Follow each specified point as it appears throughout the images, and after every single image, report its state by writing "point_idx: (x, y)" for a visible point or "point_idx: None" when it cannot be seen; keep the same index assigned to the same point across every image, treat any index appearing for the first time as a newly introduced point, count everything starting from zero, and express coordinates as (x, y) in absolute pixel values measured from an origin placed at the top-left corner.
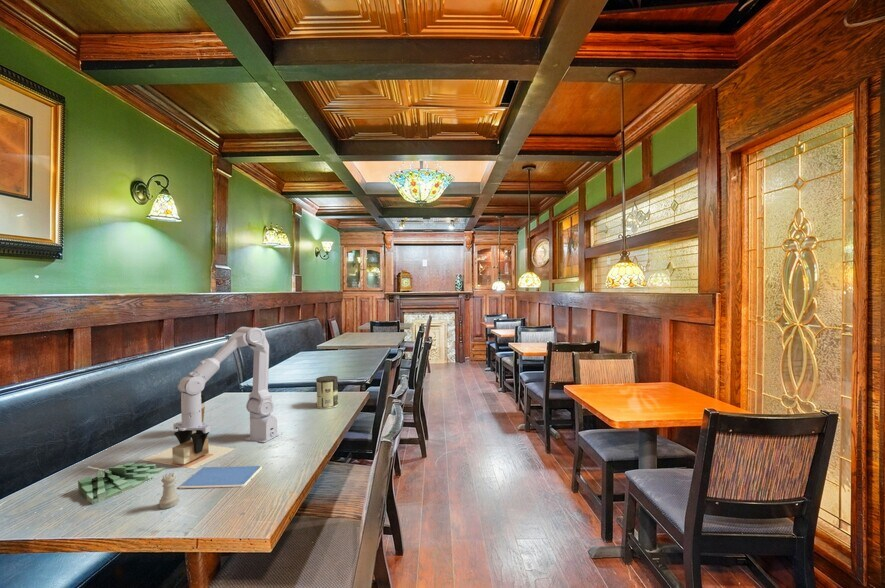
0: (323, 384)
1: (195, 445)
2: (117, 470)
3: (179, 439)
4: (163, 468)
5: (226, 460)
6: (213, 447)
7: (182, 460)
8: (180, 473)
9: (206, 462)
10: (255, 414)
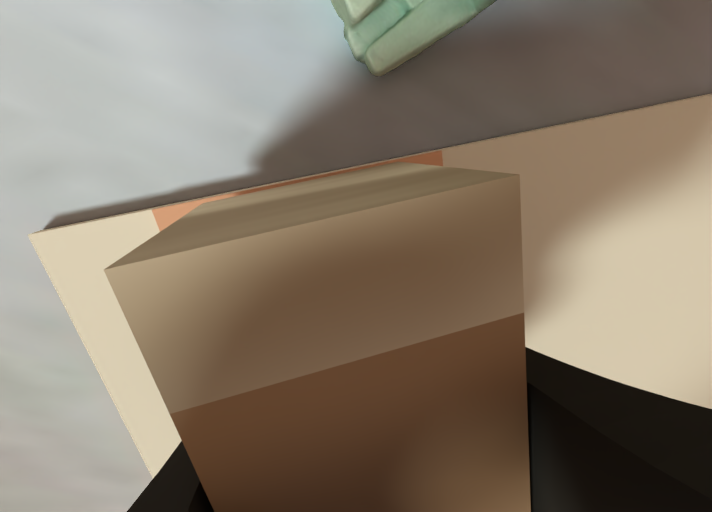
0: None
1: (139, 509)
2: None
3: (659, 427)
4: (351, 18)
5: (32, 503)
6: None
7: (219, 204)
8: (93, 100)
9: (111, 380)
10: None
